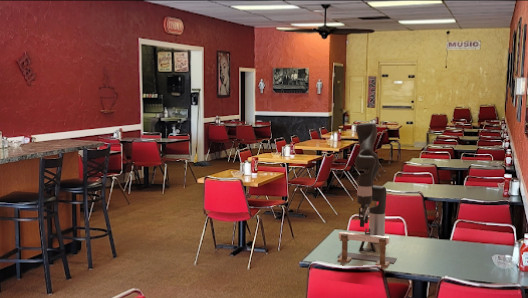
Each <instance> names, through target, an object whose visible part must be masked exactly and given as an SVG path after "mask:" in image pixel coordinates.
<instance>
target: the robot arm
mask: <svg viewBox="0 0 528 298" xmlns="http://www.w3.org/2000/svg"><path fill="white" fill-rule="evenodd" d="M377 128H378V127H377V125H376V123H375V122H364V123H363V122H362V123H358V124H357V125H356V129H355V130H356V135H357V139H358V143H359V151H358V154H357V156H356V157H355V161H354V167H355V168H356V169H358V170H363V173H361V174H359V175H358V176H357V193H356V195H357V196H356V203H357V204H359V205H360V207H358V219H359V228H365V224H368V230H369V229H370V230H371V232H370V234H371V235H377V236H386V235H385V232H386V231H385V229H386V228H385V227H386V225H385V224H386V206H387V205H386V203H387V188H386V186H382V185H374V180H375V177H376V176H377V174H378V172H379V171H380V162H379V157H378V154H377V153H376V151H375V152H374V145H375V144H376V141H377V137H378V129H377ZM373 202H378V204H377V205H372V206H371V207H370V205H371V204H373ZM374 244H375V242H374Z"/></svg>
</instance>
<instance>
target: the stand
mask: <svg viewBox="0 0 528 298" xmlns="http://www.w3.org/2000/svg"><path fill="white" fill-rule="evenodd" d="M346 232H347V231H346ZM347 233H349V232H347ZM339 241H340V242H341V252H342V256H340V257H337V263H347V264H349V263H350V262H351V261H352V260H353V259H352V258H351V257H347V252H349V251H348V247H349V246H348V243H349V242H348V241H350V240H347V235H343V234H341V239H339ZM387 245H388V244H385V239H382V238H379V243H377V246H379V256H380V261H377V262H375V265H381V266H382V267H381V268H385V269H386V268H387V269H388V267H389V265H390V263H389V262H385V257H386V250H387V249H386V247H387Z"/></svg>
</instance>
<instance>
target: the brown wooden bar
mask: <svg viewBox="0 0 528 298" xmlns="http://www.w3.org/2000/svg"><path fill="white" fill-rule="evenodd" d="M341 234H343V235H347V240H349V241H358V242H362V241H365V242H366V243H367V242H368V243H370V242H375V243H376V244H378V243H379V238H382V239H385V244H387V245H389V244H390V236H386V235H384V236H377V235H367V234H365V233H357V232H356V233H355V232H348V233H347V231H346V232H345V231H339V233H338V240H340V239H341ZM375 243H374V244H375Z"/></svg>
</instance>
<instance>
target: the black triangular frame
mask: <svg viewBox="0 0 528 298" xmlns="http://www.w3.org/2000/svg"><path fill="white" fill-rule="evenodd" d="M367 231H368V232H367ZM370 232H371V230H370V229H369V228H365V230H364V234H367V235H371V234H370ZM369 244H370V247H364V245H365V241H361V243H360V245H359V250H358V252H365V253H366V252H368V253H376V246H375V243H374V242H369Z"/></svg>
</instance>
